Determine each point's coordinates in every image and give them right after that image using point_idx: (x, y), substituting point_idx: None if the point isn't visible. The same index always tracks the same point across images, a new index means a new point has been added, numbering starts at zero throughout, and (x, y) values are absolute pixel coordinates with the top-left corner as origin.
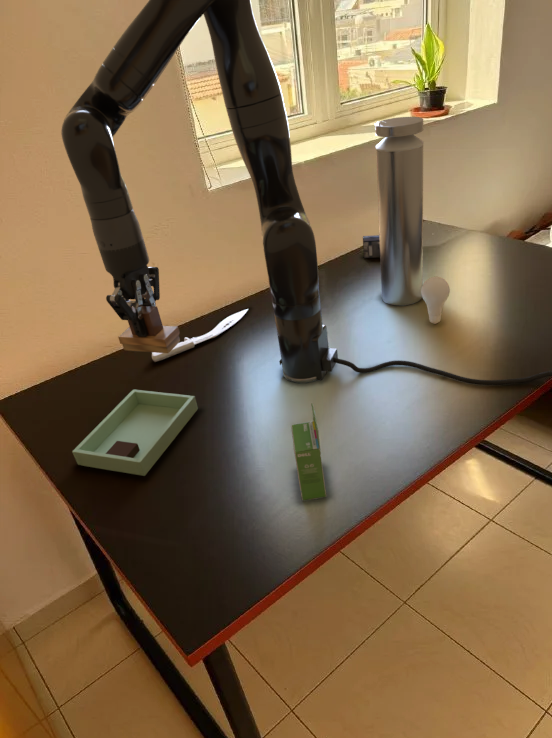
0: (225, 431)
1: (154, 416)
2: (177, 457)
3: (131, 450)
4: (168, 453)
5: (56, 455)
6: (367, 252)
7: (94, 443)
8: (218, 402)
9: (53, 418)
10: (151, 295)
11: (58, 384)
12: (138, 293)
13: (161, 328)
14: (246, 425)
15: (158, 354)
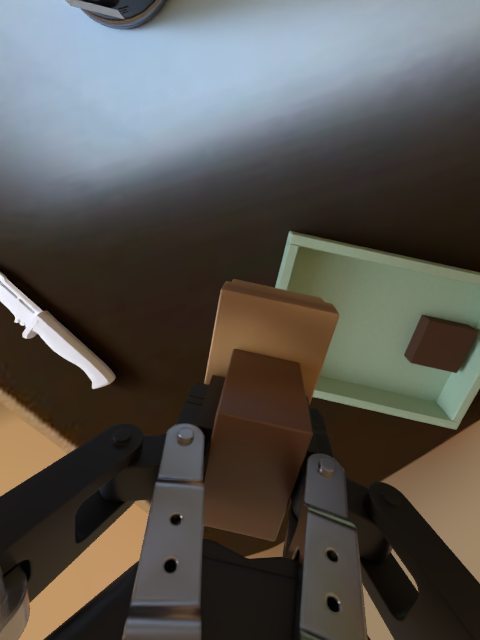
0: (375, 140)
1: None
2: (450, 231)
3: (451, 325)
4: (432, 255)
5: (394, 449)
6: None
7: (404, 401)
8: (259, 191)
9: None
10: (187, 483)
11: None
12: (339, 614)
13: (246, 354)
14: (359, 86)
15: (100, 374)
